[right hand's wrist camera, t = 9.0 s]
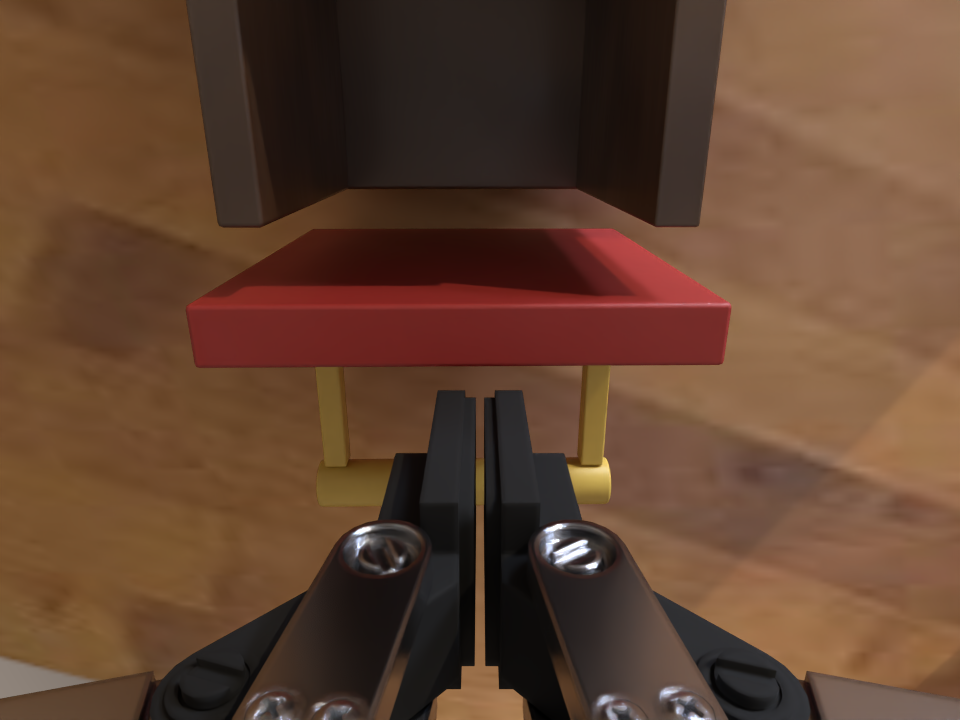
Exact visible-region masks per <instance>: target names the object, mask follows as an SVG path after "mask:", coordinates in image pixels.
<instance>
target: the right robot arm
mask: <svg viewBox="0 0 960 720" xmlns="http://www.w3.org/2000/svg"><path fill="white" fill-rule="evenodd" d="M475 575H476V398H465V390H438V392H437V398H436V405H435V411H434V417H433V423H432V429H431V435H430V441H429V447H428V453H397V454H396V455H395V458H394V461H393V465H392V469H391V473H390V477H389V480H388V484H387V488H386V492H385V496H384V499H383V503H382V507H381V511H380V515H379V518H378V521H372V522H367V523H365V524H362V525H359V526H357V527H354V528H353V529H351V530H350V531H348V532H347V533H345V534H344V535H342V537H341V538H340V539H339V540H338V541H337V543H336V544H335V545H334V547H333V549H332V550H331V552H330V554H329V555H328V557H327V559H326V560H325V562H324V564H323V566H322V567H321V569H320V571H319V572H318V574H317V576H316V577H315V579H314V581H313V582H312V584H311V586H310V588H309V589H308V590H307V591H306V592H304V593H302V594H300V595H298V596H297V597H295V598H293V599H291V600H289V601H288V602H286V603H284V604H282V605H280V606H279V607H277V608H275V609H273V610H271V611H270V612H268V613H266V614H264V615H262V616H261V617H259V618H257V619H255V620H253V621H252V622H250V623H248V624H246V625H244V626H242V627H241V628H239V629H237V630H235V631H233V632H232V633H230V634H228V635H226V636H224V637H223V638H221V639H219V640H217V641H215V642H214V643H212V644H210V645H208V646H206V647H205V648H203V649H201V650H199V651H197V652H196V653H194V654H192V655H191V656H189V657H188V658H186V659H185V660H183V661H182V662H180V663H179V664H177V665H176V666H175V667H174V668H173V669H172V670H171V671H170V672H169V673H168V674H167V675H166V676H165V677H164V678H163V679H162V680H155V676H154V672H153V671H150V672H144V673H139V674H134V675H128V676H123V677H117V678H112V679H106V680H101V681H95V682H90V683H84V684H79V685H73V686H68V687H62V688H57V689H51V690H46V691H41V692H35V693H29V694H24V695H18V696H13V697H7V698H2V699H0V720H436V718H437V697H438V696H439V695H440V694H441V693H442V692H444V691H445V690H446V689H461V670H462V666H475ZM484 575H485V666H498V670H499V689H514V690H515V691H516V692H518V693H519V694H520V695H521V696H522V697H523V718H524V720H960V699H958V698H953V697H947V696H942V695H936V694H931V693H925V692H920V691H914V690H909V689H903V688H898V687H892V686H887V685H881V684H876V683H870V682H865V681H859V680H854V679H848V678H843V677H837V676H832V675H826V674H821V673H816V672H810V671H807V672H806V676H805V680H798V679H797V678H796V677H795V676H794V675H793V674H792V673H791V672H790V671H789V670H788V669H787V668H786V667H785V666H784V665H783V664H781V663H780V662H778V661H777V660H775V659H774V658H772V657H771V656H769V655H768V654H766V653H764V652H763V651H761V650H759V649H757V648H755V647H754V646H752V645H750V644H748V643H746V642H745V641H743V640H741V639H739V638H737V637H736V636H734V635H732V634H730V633H728V632H727V631H725V630H723V629H721V628H719V627H718V626H716V625H714V624H712V623H710V622H708V621H707V620H705V619H703V618H701V617H699V616H698V615H696V614H694V613H692V612H690V611H689V610H687V609H685V608H683V607H681V606H680V605H678V604H676V603H674V602H672V601H671V600H669V599H667V598H665V597H663V596H662V595H660V594H658V593H656V592H654V591H653V590H652V589H651V588H650V586H649V584H648V582H647V581H646V579H645V577H644V576H643V574H642V572H641V571H640V569H639V567H638V566H637V564H636V562H635V560H634V559H633V557H632V555H631V554H630V552H629V550H628V549H627V547H626V545H625V544H624V543H623V541H622V540H621V539H620V538H619V537H618V535H616V534H615V533H613V532H612V531H610V530H609V529H607V528H606V527H603V526H601V525H598V524H595V523H593V522H588V521H582V518H581V515H580V511H579V507H578V503H577V499H576V496H575V492H574V488H573V484H572V480H571V477H570V473H569V469H568V465H567V461H566V458H565V455H564V454H563V453H532V447H531V441H530V435H529V429H528V423H527V417H526V411H525V405H524V398H523V392H522V390H495V398H484Z"/></svg>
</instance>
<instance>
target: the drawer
mask: <svg viewBox="0 0 960 720" xmlns="http://www.w3.org/2000/svg"><path fill="white" fill-rule="evenodd" d="M726 2H727V0H186V5H187V12H188V19H189V26H190V33H191V40H192V46H193V53H194V60H195V67H196V74H197V81H198V88H199V95H200V102H201V109H202V116H203V123H204V130H205V137H206V144H207V151H208V158H209V165H210V172H211V179H212V186H213V193H214V200H215V206H216V213H217V220H218V224H219V226H221V227H224V228H252V227H262V226H265V225H267V224H269V223H271V222H274V221H276V220H278V219H280V218H283V217H285V216H287V215H289V214H292V213H294V212H296V211H298V210H301V209H303V208H305V207H307V206H310V205H312V204H314V203H317V202H319V201H321V200H323V199H326V198H328V197H330V196H332V195H335V194H337V193H339V192H341V191H344V190H346V189H579V190H581V191H583V192H585V193H587V194H589V195H591V196H593V197H595V198H597V199H599V200H601V201H603V202H605V203H608V204H610V205H612V206H614V207H616V208H618V209H620V210H622V211H624V212H626V213H628V214H630V215H632V216H634V217H637V218H639V219H641V220H643V221H645V222H647V223H649V224H651V225H653V226H655V227H697V226H699V223H700V215H701V207H702V199H703V190H704V182H705V174H706V166H707V158H708V149H709V141H710V133H711V125H712V117H713V109H714V100H715V92H716V84H717V76H718V68H719V60H720V51H721V43H722V35H723V27H724V19H725V10H726ZM730 313H731V304H730V303H729V302H727V301H726V300H724V299H722V298H721V297H719V296H718V295H716V294H715V293H713V292H711V291H710V290H708V289H707V288H705V287H704V286H702V285H700V284H699V283H697V282H696V281H694V280H693V279H691V278H690V277H688V276H686V275H685V274H683V273H682V272H680V271H679V270H677V269H675V268H674V267H672V266H671V265H669V264H668V263H666V262H664V261H663V260H661V259H660V258H658V257H657V256H655V255H653V254H652V253H650V252H649V251H647V250H646V249H644V248H643V247H641V246H639V245H638V244H636V243H635V242H633V241H632V240H630V239H628V238H627V237H625V236H624V235H622V234H621V233H619V232H617V231H616V230H614V229H313V230H311V231H309V232H308V233H306V234H304V235H303V236H301V237H299V238H298V239H296V240H294V241H293V242H291V243H290V244H288V245H286V246H285V247H283V248H281V249H280V250H278V251H276V252H275V253H273V254H271V255H270V256H268V257H266V258H265V259H263V260H261V261H260V262H258V263H256V264H255V265H253V266H252V267H250V268H248V269H247V270H245V271H243V272H242V273H240V274H238V275H237V276H235V277H233V278H232V279H230V280H228V281H227V282H225V283H223V284H222V285H220V286H218V287H217V288H215V289H214V290H212V291H210V292H209V293H207V294H205V295H204V296H202V297H200V298H199V299H197V300H195V301H194V302H192V303H190V304H189V305H187V307H186V314H187V320H188V326H189V332H190V338H191V344H192V350H193V356H194V361H195V365H196V367H199V368H249V367H315V371H316V382H317V392H318V402H319V412H320V423H321V433H322V443H323V453H324V460H322V461H321V462H320V465H319V468H318V472H317V479H316V494H317V500H318V503H319V505H320V506H322V507H339V506H382V503H383V499H384V496H385V492H386V488H387V484H388V480H389V477H390V473H391V469H392V465H393V461H394V459H349V458H350V445H349V433H348V421H347V408H346V396H345V384H344V371H343V367H421V366H583V371H582V387H581V403H580V419H579V435H578V451H577V455H578V457H565V458H566V461H567V465H568V469H569V473H570V477H571V480H572V484H573V488H574V492H575V496H576V499H577V503H578V504H606V503H608V502H609V499H610V494H611V474H610V468H609V464H608V461H607V459H606V458H604V457H603V454H604V441H605V428H606V416H607V403H608V391H609V378H610V365H720V364H722V363H723V361H724V354H725V348H726V341H727V334H728V327H729V320H730ZM476 505H484V458H476Z"/></svg>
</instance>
